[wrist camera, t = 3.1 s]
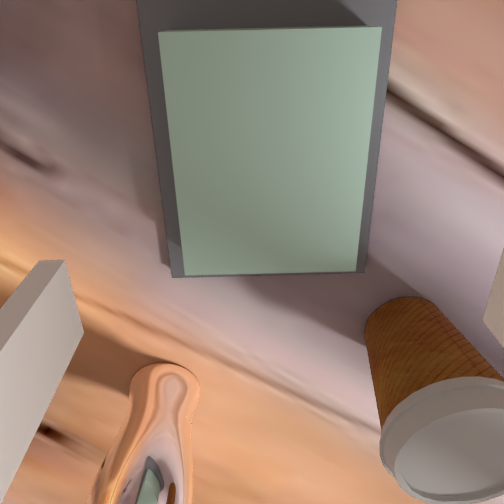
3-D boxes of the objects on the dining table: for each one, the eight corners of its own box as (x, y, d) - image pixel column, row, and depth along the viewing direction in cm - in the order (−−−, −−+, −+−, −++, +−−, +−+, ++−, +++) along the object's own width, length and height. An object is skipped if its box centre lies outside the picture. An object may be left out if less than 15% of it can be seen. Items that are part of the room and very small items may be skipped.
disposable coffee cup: (398, 388, 39) (455, 527, 28) (320, 335, 36) (351, 470, 25) (487, 320, 35) (590, 451, 25) (408, 256, 32) (487, 373, 22)
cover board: (367, 25, 24) (382, 26, 21) (346, 249, 31) (355, 271, 28) (167, 30, 24) (157, 32, 21) (190, 252, 31) (184, 275, 28)
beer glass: (158, 425, 41) (116, 623, 27) (108, 379, 38) (35, 575, 25) (220, 396, 39) (208, 592, 26) (173, 345, 36) (132, 537, 23)
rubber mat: (393, -17, 24) (399, -18, 23) (361, 265, 33) (364, 272, 32) (138, -11, 24) (134, -12, 23) (173, 270, 33) (171, 277, 32)
